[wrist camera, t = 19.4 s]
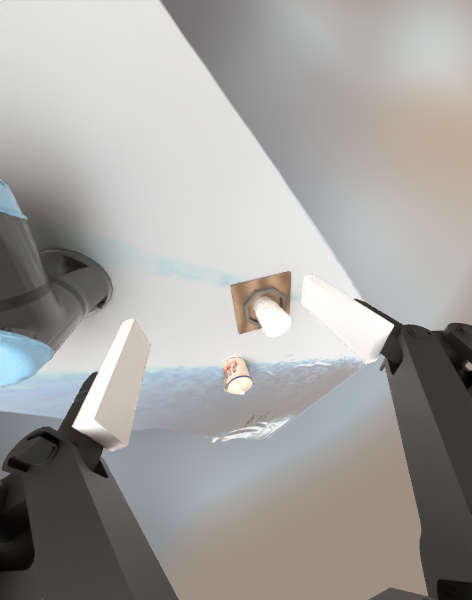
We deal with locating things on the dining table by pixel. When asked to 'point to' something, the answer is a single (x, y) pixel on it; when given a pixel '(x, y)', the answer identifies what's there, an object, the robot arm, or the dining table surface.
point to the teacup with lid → (236, 376)
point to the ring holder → (255, 289)
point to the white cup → (271, 317)
